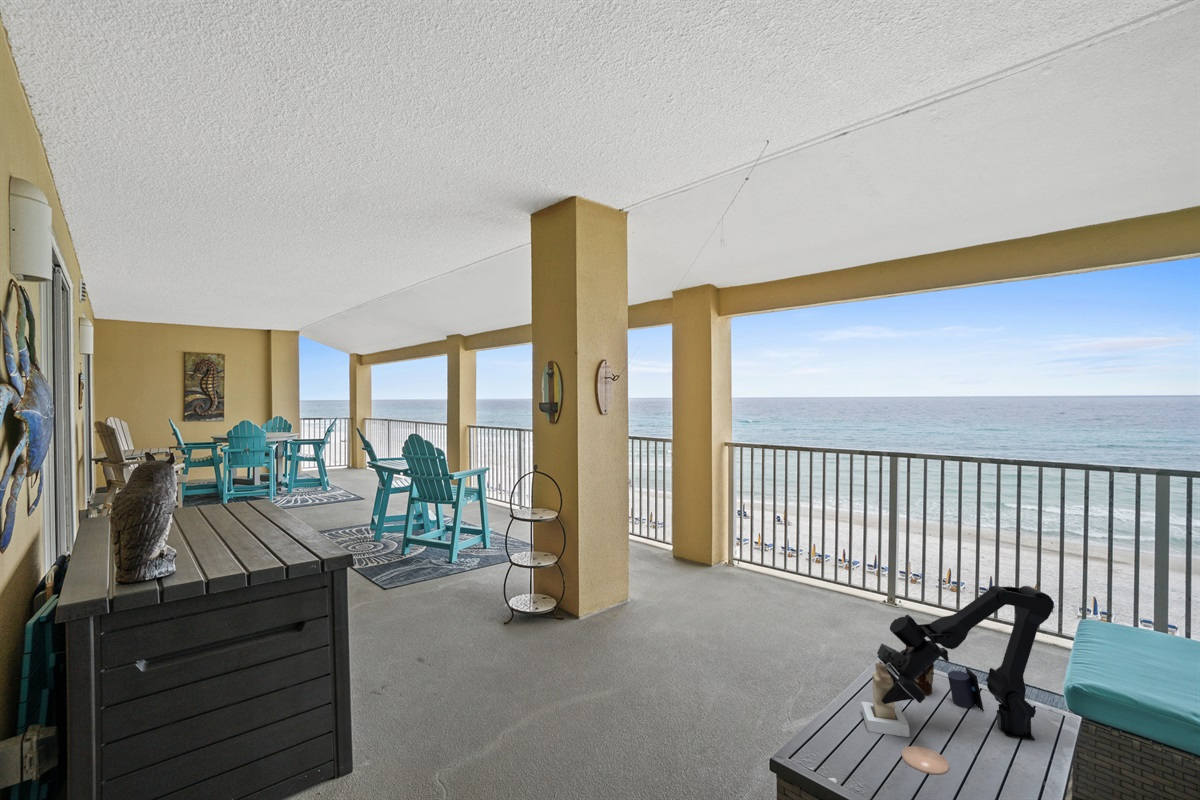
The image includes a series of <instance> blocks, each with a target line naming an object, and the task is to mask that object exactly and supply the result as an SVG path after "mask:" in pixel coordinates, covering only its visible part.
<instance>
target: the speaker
mask: <svg viewBox="0 0 1200 800" xmlns="http://www.w3.org/2000/svg"><path fill="white" fill-rule="evenodd" d="M965 671H966V672H964V671H961V670H951V671H949V672H948V673H946V674H947V678H948V683H949V689H950V693H951V698H952V702H953V704H954V705H955V706H958V707H960V706H961V707H960V708H973V707H974V706H976V708H978V709H979V708H980V709H979V711H981V710H982V711H984V706H983V701H982V696H981V695H982V694H981V691H980V686H979V680H978V676H977V675H976V674H975V672H973V671H972V670H971V669H969V668H968V667H965ZM982 711H981V712H982ZM984 712H985V711H984Z"/></svg>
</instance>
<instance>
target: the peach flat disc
mask: <svg viewBox="0 0 1200 800" xmlns="http://www.w3.org/2000/svg"><path fill="white" fill-rule="evenodd" d="M901 758H902V760H903V761H904V762H905V763H906V764H907V765H909V766H910V767H912V768H913V769H915V770H917V771H919V772H922V773H925V774H930V775H943V774H946V773H947V772H949V770H950V763H949V761H948V760H947V759H946V758H945V757H944V756H943V755H941V754H940V753H939V752H937V751H935V750H932V749H930V748H928V747H923V746H917V745H914V746H906V747H905V748H903V749H902V751H901Z"/></svg>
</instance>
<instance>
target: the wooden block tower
mask: <svg viewBox="0 0 1200 800" xmlns="http://www.w3.org/2000/svg"><path fill="white" fill-rule="evenodd" d="M874 664H875V671H876V672H872V695H873V696H872V698H873V702H872V703H873V704H874V717H875V718H883V719H890V720H895V706H896V704H895V703H896V702H893V703H888V704H884V703H883V702H882V701H881V700H882V699H883V697H884V696H885V695H886V694H887V693H888V691H889V690H890V689H891V688H892V687H893V679H892V677H891V675H890V674H889V673H888V671H887V669H886V667H885V665H884V664H880V663H878V662H875V663H874Z"/></svg>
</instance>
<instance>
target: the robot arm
mask: <svg viewBox="0 0 1200 800" xmlns="http://www.w3.org/2000/svg"><path fill="white" fill-rule="evenodd" d="M1005 605H1007V606H1013V607H1014V611H1015V621H1014V624H1013V627H1012V630H1011V633H1010V637H1009V640H1008V644H1007V647H1006V649H1005V653H1004V655H1003V659H1002V662H1001V665H1000V666H999V667H997V668H996V669H994V668H993V667H990V668H989V670H988V676H987V677H986V678H985V682H987V685H986V687H987V690H988V691H989V693H990V694H991V695H992V696H994V699H995V700H996V701H997V703H998V709H997V710H996V725H997V726H998V727H999V729H1000V730H1001V731H1002V732H1003V734H1004V735H1005V736H1006V737H1009V738H1016V739H1023V740H1031V741H1035V739H1036V738H1035V736H1034V735H1033V734H1032V719H1033V718H1035V715H1036V712H1037V710H1036V709H1035V708H1034V706H1032V705H1031V704H1030V703H1029V702H1028V701H1027V700H1026V694H1027V688H1026V683H1025V678H1024V675H1025V671H1026V668H1027V665H1028V662H1029V659H1030V655H1031V652H1032V649H1033V645H1034V642H1035V639H1036V636H1037V633H1038V629H1039V628H1040V627H1039V626H1040V625H1042V624H1043V623H1044V622H1045V621H1046V620H1048V619H1049V617H1050V616H1051V614H1052V612H1053V610H1054V607H1055V601H1053V599H1052V597H1051V596H1050V595H1049V594H1046V593H1044V592H1043V591H1040V590H1039V589H1036V588H1034V587H1032V586H1029V585H1024V586H1021V587H1016V586H1000V585H992V586H990V587H988V590H986V592H984V593H982V594H981V595H979V596H978V597H977V598H976V599H974V600H972V601H971V602H970V603H968V604H967V605H966V606H964V607H963V608H961V609H960V610H958V611H957V612H955V613H954V614H951V615H946V616H943V617H940V618H938V619H936V620H933V621H932V622H931V623H923V624H918V623H917V622H916V621H915V619H914V618H912V616H910V615H909V614H906V615H904V616H900V617H897V618H895V619H894V620H893V621H892V622H891V623H890V625H889V630H890V632H891V633H892V634H893V635H894V636H895V637H896V638H897V639H898V640H899V641H900V642H901V643H902V644H904V646H905V647H906V646H907V647H912V648H911V649H910V650H909V651H908V652H907V651H906V650H905V649H902V650H901V651H898V650H896V649H894V648H893V647H890V646H888V645H887V644H884V643H881V644H880V646H879V648H878V650H877V652H876V654H877V658H878V659H879V660H880V661H879V663H880V664H884V665H885V667H886V669H887V671H888V673H889V674H890V675H891V677H892V679H893V687H892V688H891V689H890V690H889V691H888V693H887V694H886V695H885V696H884V697H883V699H882V700H881V701H882V702H883V703H884V704H888V703H893V702H895V703H898V702H902V701H903V702H904V701H909V700H912V701H915V700H916V701H917V702H918V703H919V704H922V702H924V701H925V700H926V695H925V693H924V692H923V691H922V690H921V689H920V688H919V687H918V686H917V685H916V684H917V682H916V681H915V679H916V678H917V677H919V676H920V675H921V674H922V673H924V674H925V675H926V674H927V673H928V672H927V671H926V669H927V668H928V667H929V666H930V665H932V664H934V663H935V662H937V660H939V658H940V657H941V658H942V659H943V660H944V661H945V662H947V663H948V662H949V661H950V660H949V656H948V655H949V651H948V650H954V649H956V648H958V647H959V646H961V644H962V643H963V642H965V640H966V639H967V637H968V634H969V632H970V631H971V630H972V629H973V628H974V627H976V626H977V625H979V624H981V622H983V621H985V620H986V619H987V618H989V617H990V616H991V615H993V614H994V613H996V612H997V611H999V610H1000V609H1001V608H1003V607H1004V606H1005ZM926 637H927V638H928V639H926ZM939 645H940V646H941V647H940V646H939ZM925 664H926V665H927V666H928V667H927V666H926V665H925ZM1031 718H1032V719H1031Z"/></svg>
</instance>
